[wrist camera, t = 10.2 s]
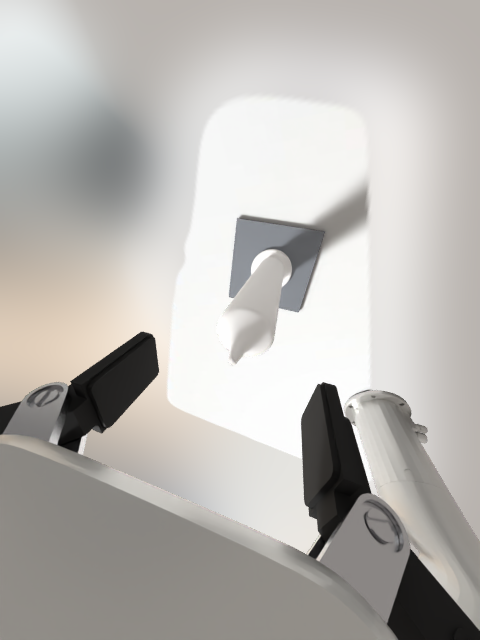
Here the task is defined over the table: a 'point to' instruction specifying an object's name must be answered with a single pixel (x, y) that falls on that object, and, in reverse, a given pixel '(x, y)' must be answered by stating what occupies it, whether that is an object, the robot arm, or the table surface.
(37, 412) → the robot arm
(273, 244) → the mat
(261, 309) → the candle
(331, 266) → the table surface
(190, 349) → the table surface
